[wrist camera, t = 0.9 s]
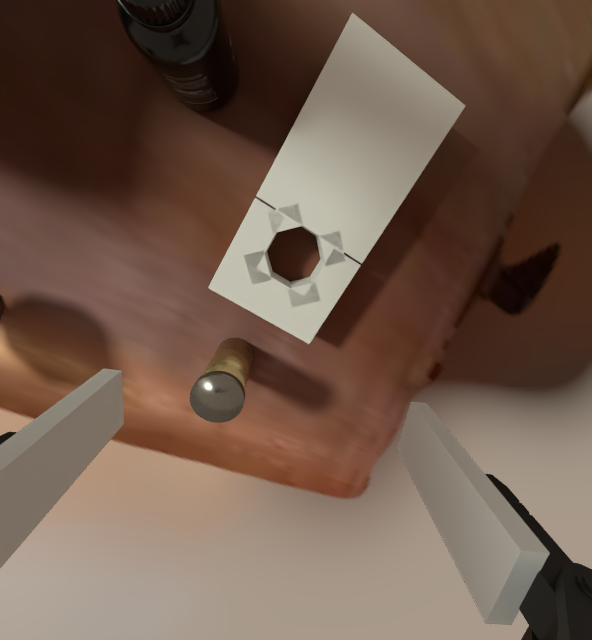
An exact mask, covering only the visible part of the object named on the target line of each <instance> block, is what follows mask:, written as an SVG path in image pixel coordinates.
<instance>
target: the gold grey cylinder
mask: <svg viewBox="0 0 592 640" xmlns="http://www.w3.org/2000/svg"><path fill="white" fill-rule="evenodd" d="M252 360H253V350H252V348H251V346H250V345H249V344H248V343H247V342H246V341H244V340H242V339H239V338H230V339H227V340H225V341H224V342H222V343H221V345H220V346H219V348H218V349H217V351H216V353H215V355H214V356H213V358H212V360H211V361H210V363H209V365H208V367H207V368H206V370H205V372H204V374H203V375H202V376H201V377H200V378H199V379H198V380H197V381H196V383H195V385H194V386H193V388H192V390H191V393H190V403H191V406H192V408H193V410H194V411H195V412H196V414H197V415H199V416H200V417H201V418H203V419H205V420H207V421H210V422H217V423H220V422H226V421H229V420H231V419H233V418H235V417H236V416H237V415H238V414H239V413H240V411H241V410H242V407H243V404H244V400H245V387H246V384H247V380H248V376H249V372H250V368H251V364H252Z"/></svg>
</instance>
